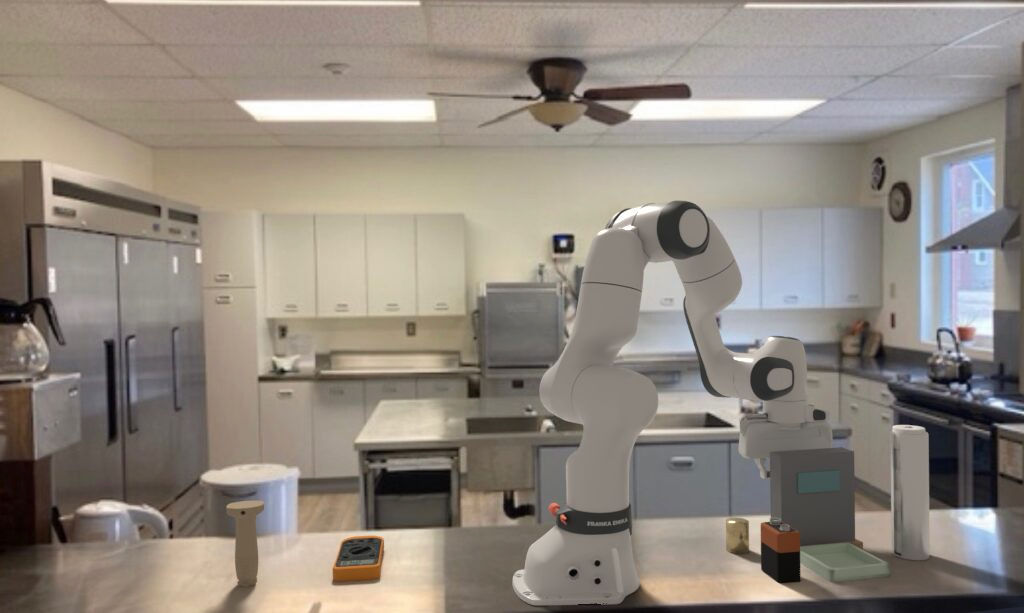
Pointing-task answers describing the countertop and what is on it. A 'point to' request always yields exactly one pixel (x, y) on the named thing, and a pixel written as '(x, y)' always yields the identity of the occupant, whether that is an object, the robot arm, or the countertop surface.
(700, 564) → the countertop surface
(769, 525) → the battery
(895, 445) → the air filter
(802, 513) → the control unit
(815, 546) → the tray
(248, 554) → the handle
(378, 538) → the multimeter
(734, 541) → the yellow translucent cylinder
